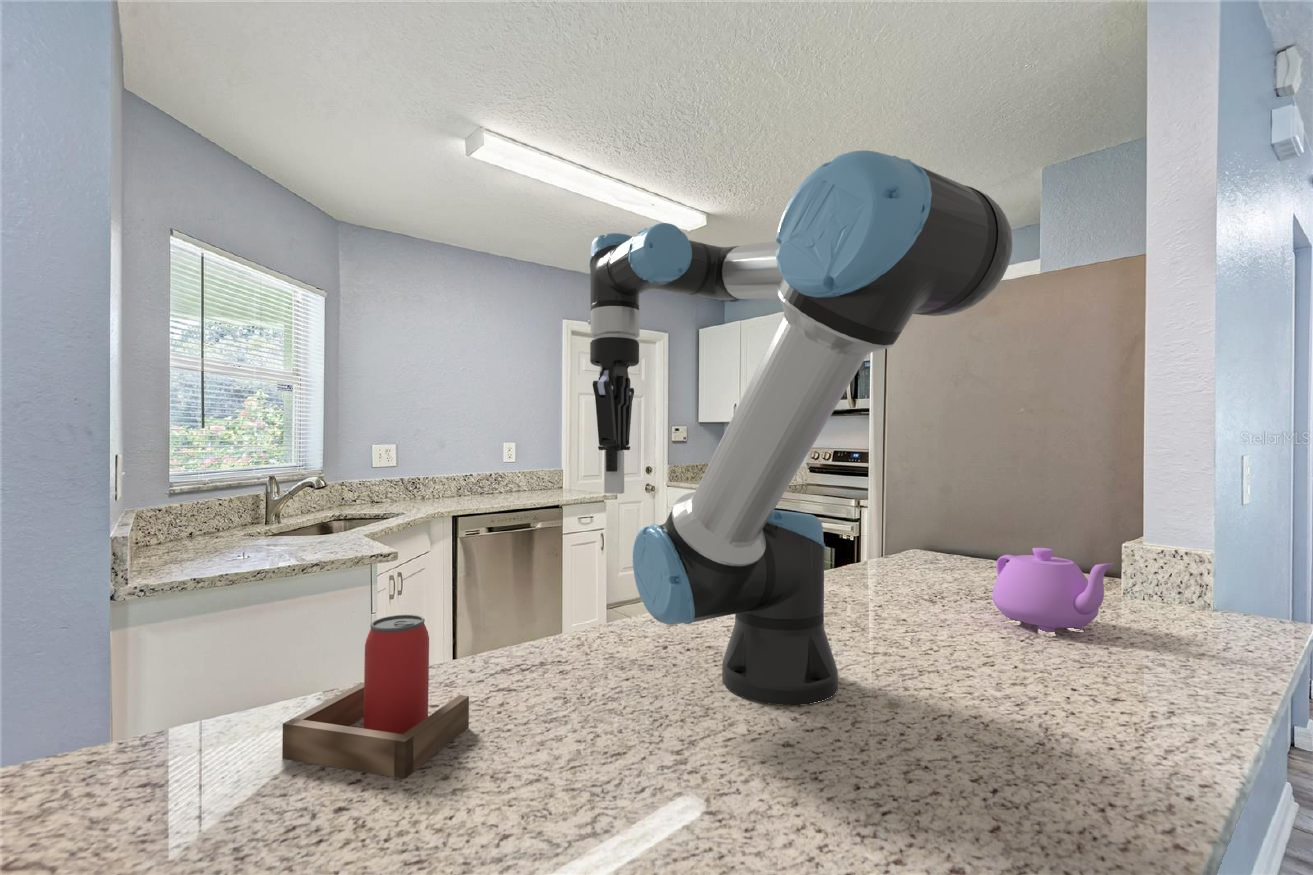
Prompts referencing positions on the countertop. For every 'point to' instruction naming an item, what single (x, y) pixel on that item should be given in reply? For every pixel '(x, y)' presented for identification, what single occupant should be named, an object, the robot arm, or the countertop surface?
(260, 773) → the countertop surface
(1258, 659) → the countertop surface
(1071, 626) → the teapot
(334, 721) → the walnut bay
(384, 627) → the beer can
